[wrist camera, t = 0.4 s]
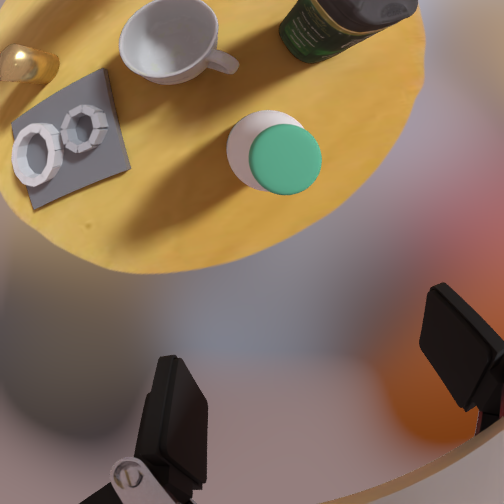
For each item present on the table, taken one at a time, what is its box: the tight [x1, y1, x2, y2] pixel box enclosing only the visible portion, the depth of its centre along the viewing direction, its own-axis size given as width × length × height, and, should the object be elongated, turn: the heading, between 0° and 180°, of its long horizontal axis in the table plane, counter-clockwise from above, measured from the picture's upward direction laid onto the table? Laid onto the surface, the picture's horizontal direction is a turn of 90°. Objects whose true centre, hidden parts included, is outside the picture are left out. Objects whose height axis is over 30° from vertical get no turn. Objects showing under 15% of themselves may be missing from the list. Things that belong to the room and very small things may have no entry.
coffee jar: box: [279, 0, 418, 63], centre depth 20 cm, size 10×8×19 cm
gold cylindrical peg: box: [0, 44, 60, 85], centre depth 22 cm, size 5×5×10 cm
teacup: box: [119, 0, 239, 85], centre depth 25 cm, size 14×11×8 cm
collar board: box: [11, 68, 131, 209], centre depth 30 cm, size 15×18×4 cm
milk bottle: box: [227, 110, 322, 195], centre depth 26 cm, size 8×8×20 cm
